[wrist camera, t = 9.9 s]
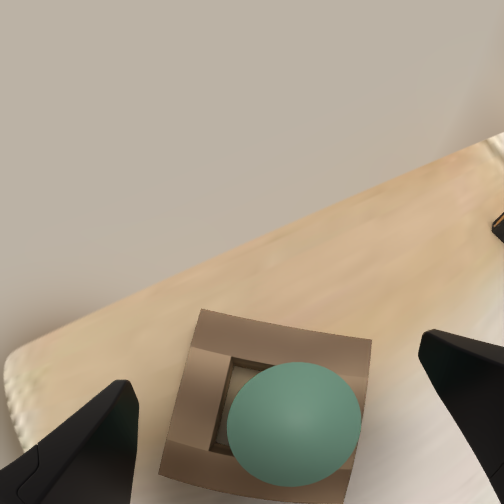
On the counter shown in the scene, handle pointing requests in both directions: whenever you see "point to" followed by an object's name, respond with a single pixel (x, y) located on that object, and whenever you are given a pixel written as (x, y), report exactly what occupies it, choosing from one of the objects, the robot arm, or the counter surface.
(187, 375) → the socket block
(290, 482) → the peg
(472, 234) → the counter surface
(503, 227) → the ammunition clip
